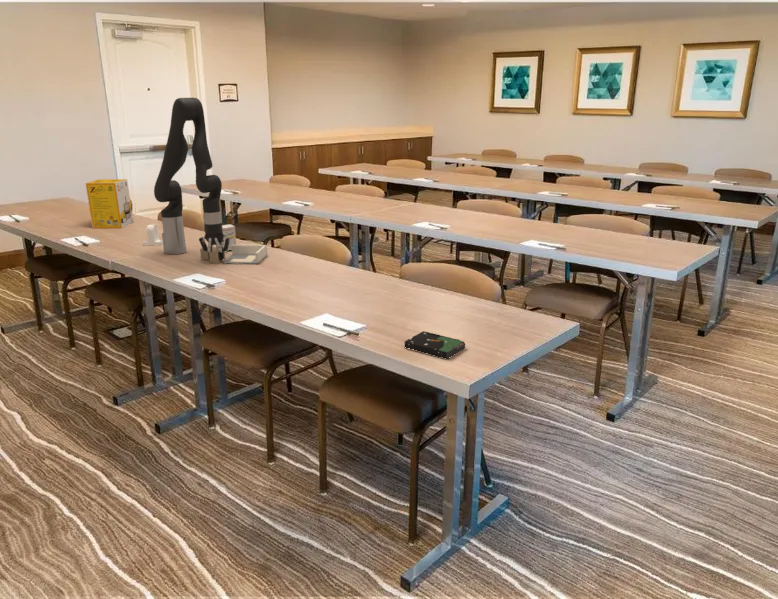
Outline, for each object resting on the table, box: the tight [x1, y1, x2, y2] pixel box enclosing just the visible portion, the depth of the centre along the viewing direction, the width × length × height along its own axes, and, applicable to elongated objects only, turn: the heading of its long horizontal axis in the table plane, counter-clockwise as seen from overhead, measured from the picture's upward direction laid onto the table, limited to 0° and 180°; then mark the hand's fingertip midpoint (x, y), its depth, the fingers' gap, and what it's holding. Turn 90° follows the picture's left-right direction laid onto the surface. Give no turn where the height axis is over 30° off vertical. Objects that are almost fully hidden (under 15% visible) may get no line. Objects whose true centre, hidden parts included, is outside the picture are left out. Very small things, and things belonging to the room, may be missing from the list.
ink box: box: [215, 223, 237, 252], centre depth 294 cm, size 8×5×12 cm, turn 129°
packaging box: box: [85, 178, 134, 229], centre depth 350 cm, size 16×16×25 cm
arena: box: [222, 244, 268, 265], centre depth 278 cm, size 16×15×5 cm
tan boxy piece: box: [199, 246, 226, 264], centre depth 277 cm, size 9×10×5 cm
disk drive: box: [404, 330, 466, 360], centre depth 181 cm, size 10×3×15 cm
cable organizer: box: [142, 224, 163, 246], centre depth 307 cm, size 5×10×10 cm, turn 84°
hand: (216, 259), depth 276 cm, fingers closed on tan boxy piece, 4 cm apart
